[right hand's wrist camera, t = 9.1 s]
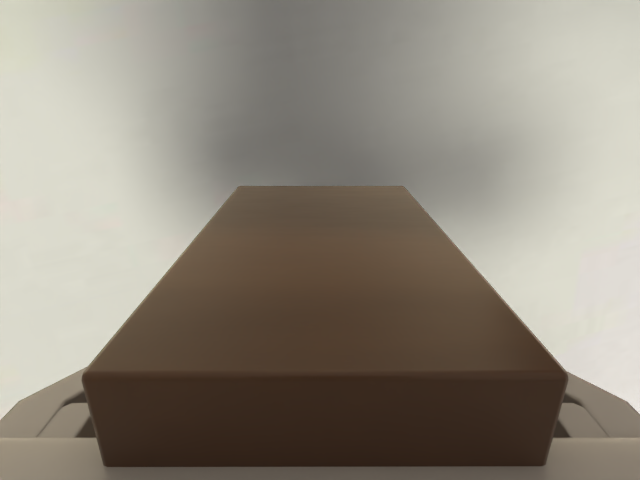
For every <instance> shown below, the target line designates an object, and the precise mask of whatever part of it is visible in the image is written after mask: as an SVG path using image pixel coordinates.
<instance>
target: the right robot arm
mask: <svg viewBox="0 0 640 480" xmlns="http://www.w3.org/2000/svg"><path fill="white" fill-rule="evenodd" d="M86 368H87V367H86ZM86 368H84V369H82V370H80V371H78V372H76V373H74V374H72V375H70V376H68V377H66V378H64V379H62V380H60V381H58V382H56V383H54V384H52V385H50V386H48V387H46V388H44V389H42V390H40V391H38V392H36V393H34V394H32V395H30V396H28V397H26V398H24V399H22V400H20V401H19V402H18V403H17V404H16V405H15V406H14V407H13V408H12V409H11V410H10V411H9V412H8V413H7V414H6V415H5V416H4V417H3V418H2V419H1V420H0V480H640V414H639V413H638V412H637V411H636V410H635V409H634V408H633V407H632V406H631V405H630V404H629V403H628V402H627V401H625V400H623V399H621V398H619V397H617V396H615V395H613V394H611V393H609V392H607V391H605V390H603V389H601V388H599V387H597V386H595V385H593V384H591V383H589V382H587V381H585V380H583V379H581V378H579V377H577V376H575V375H573V374H571V373H569V372H567V371H566V372H567V374H568V384H567V387H566V391H565V395H564V398H563V402H562V406H561V409H560V413H559V417H558V421H557V424H556V428H555V432H554V435H553V439H552V443H551V446H550V450H549V454H548V458H547V461H546V465H544V466H464V467H106V466H103V462H102V458H101V454H100V450H99V447H98V443H97V439H96V435H95V431H94V427H93V423H92V419H91V416H90V412H89V408H88V404H87V400H86V396H85V392H84V389H83V385H82V381H81V380H82V375H83V372H84V371H85V369H86Z"/></svg>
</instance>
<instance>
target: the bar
mask: <svg viewBox="0 0 640 480" xmlns="http://www.w3.org/2000/svg"><path fill="white" fill-rule="evenodd" d="M81 381H82V385H83V389H84V392H85V396H86V400H87V404H88V408H89V412H90V416H91V419H92V423H93V427H94V431H95V435H96V439H97V443H98V447H99V450H100V454H101V458H102V462H103V466H106V467H464V466H544V465H546V461H547V458H548V454H549V450H550V446H551V443H552V439H553V435H554V432H555V428H556V424H557V421H558V417H559V413H560V409H561V406H562V402H563V398H564V395H565V391H566V387H567V384H568V374H567V372H566V370H565V369H564V368H563V367H562V366H561V365H560V364H559V362H558V361H557V360H556V359H555V358H554V357H553V356H552V354H551V353H550V352H549V351H548V350H547V349H546V348H545V347H544V345H543V344H542V343H541V342H540V341H539V340H538V339H537V337H536V336H535V335H534V334H533V333H532V332H531V331H530V329H529V328H528V327H527V326H526V325H525V324H524V323H523V321H522V320H521V319H520V318H519V317H518V316H517V315H516V313H515V312H514V311H513V310H512V309H511V308H510V307H509V306H508V304H507V303H506V302H505V301H504V300H503V299H502V298H501V296H500V295H499V294H498V293H497V292H496V291H495V290H494V288H493V287H492V286H491V285H490V284H489V283H488V282H487V280H486V279H485V278H484V277H483V276H482V275H481V274H480V273H479V271H478V270H477V269H476V268H475V267H474V266H473V265H472V263H471V262H470V261H469V260H468V259H467V258H466V257H465V255H464V254H463V253H462V252H461V251H460V250H459V249H458V247H457V246H456V245H455V244H454V243H453V242H452V241H451V240H450V238H449V237H448V236H447V235H446V234H445V233H444V232H443V230H442V229H441V228H440V227H439V226H438V225H437V224H436V222H435V221H434V220H433V219H432V218H431V217H430V216H429V214H428V213H427V212H426V211H425V210H424V209H423V208H422V207H421V205H420V204H419V203H418V202H417V201H416V200H415V199H414V197H413V196H412V195H411V194H410V193H409V192H408V191H407V189H406V188H405V187H403V186H239V187H237V189H236V190H235V191H234V192H233V193H232V195H231V196H230V197H229V198H228V199H227V201H226V202H225V203H224V204H223V205H222V207H221V208H220V209H219V210H218V211H217V213H216V214H215V215H214V216H213V217H212V219H211V220H210V221H209V222H208V223H207V225H206V226H205V227H204V228H203V229H202V231H201V232H200V233H199V234H198V235H197V237H196V238H195V239H194V240H193V241H192V243H191V244H190V245H189V246H188V247H187V249H186V250H185V251H184V252H183V253H182V255H181V256H180V257H179V258H178V259H177V261H176V262H175V263H174V264H173V265H172V266H171V268H170V269H169V270H168V271H167V272H166V274H165V275H164V276H163V277H162V278H161V280H160V281H159V282H158V283H157V284H156V286H155V287H154V288H153V289H152V290H151V292H150V293H149V294H148V295H147V296H146V298H145V299H144V300H143V301H142V302H141V304H140V305H139V306H138V307H137V308H136V310H135V311H134V312H133V313H132V314H131V316H130V317H129V318H128V319H127V320H126V322H125V323H124V324H123V325H122V326H121V328H120V329H119V330H118V331H117V332H116V334H115V335H114V336H113V337H112V338H111V340H110V341H109V342H108V343H107V344H106V346H105V347H104V348H103V349H102V350H101V351H100V353H99V354H98V355H97V356H96V357H95V359H94V360H93V361H92V362H91V363H90V365H89V366H88V367H87V368H86V369H85V371H84V372H83V375H82V380H81Z"/></svg>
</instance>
